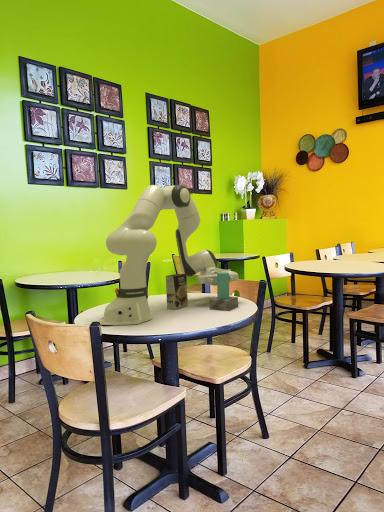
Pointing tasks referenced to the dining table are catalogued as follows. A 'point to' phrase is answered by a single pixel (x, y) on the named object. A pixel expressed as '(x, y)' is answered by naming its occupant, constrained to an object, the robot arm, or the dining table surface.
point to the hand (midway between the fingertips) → (222, 280)
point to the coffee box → (176, 291)
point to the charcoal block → (223, 304)
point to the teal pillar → (222, 285)
